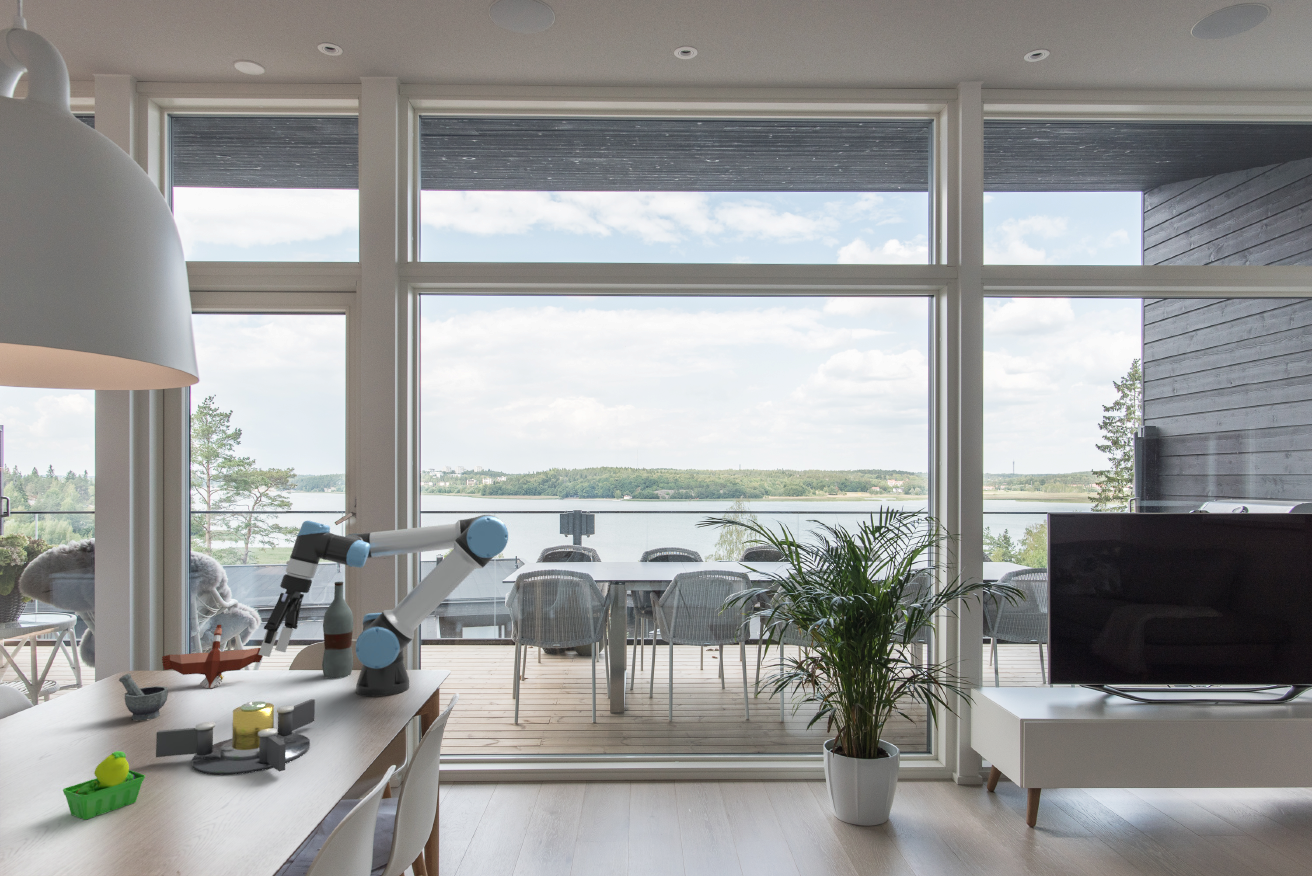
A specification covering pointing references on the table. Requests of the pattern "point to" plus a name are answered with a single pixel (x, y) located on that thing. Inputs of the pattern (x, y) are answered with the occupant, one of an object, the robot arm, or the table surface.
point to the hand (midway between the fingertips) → (272, 653)
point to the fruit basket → (105, 788)
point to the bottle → (338, 637)
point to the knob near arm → (295, 717)
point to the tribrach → (247, 743)
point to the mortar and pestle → (143, 699)
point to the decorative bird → (212, 661)
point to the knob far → (185, 741)
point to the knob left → (272, 749)
